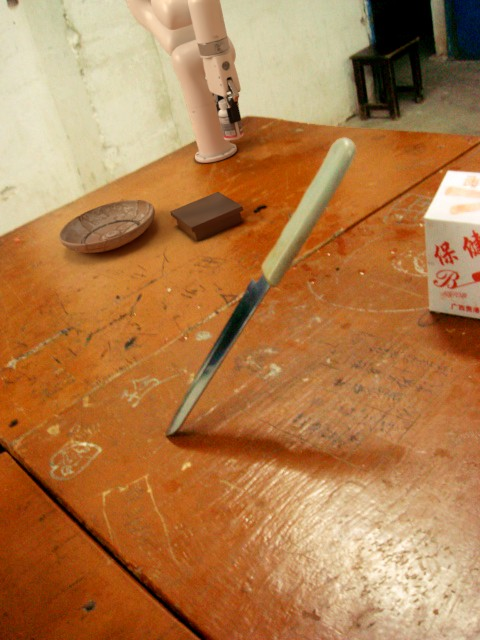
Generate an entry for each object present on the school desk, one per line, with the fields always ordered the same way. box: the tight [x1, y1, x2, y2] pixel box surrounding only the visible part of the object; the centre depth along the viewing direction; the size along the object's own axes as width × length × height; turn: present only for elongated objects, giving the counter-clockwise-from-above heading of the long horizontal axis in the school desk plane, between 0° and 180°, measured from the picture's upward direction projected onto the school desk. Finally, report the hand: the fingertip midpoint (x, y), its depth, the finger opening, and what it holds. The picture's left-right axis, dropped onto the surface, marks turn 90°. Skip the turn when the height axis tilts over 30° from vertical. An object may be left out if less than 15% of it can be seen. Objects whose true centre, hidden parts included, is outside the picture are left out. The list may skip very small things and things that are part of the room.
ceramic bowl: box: [58, 199, 156, 254], centre depth 153 cm, size 23×24×5 cm
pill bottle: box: [218, 97, 245, 142], centre depth 166 cm, size 5×5×10 cm
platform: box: [169, 191, 244, 242], centre depth 148 cm, size 13×13×4 cm
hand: (230, 119), depth 166 cm, fingers closed on pill bottle, 5 cm apart
